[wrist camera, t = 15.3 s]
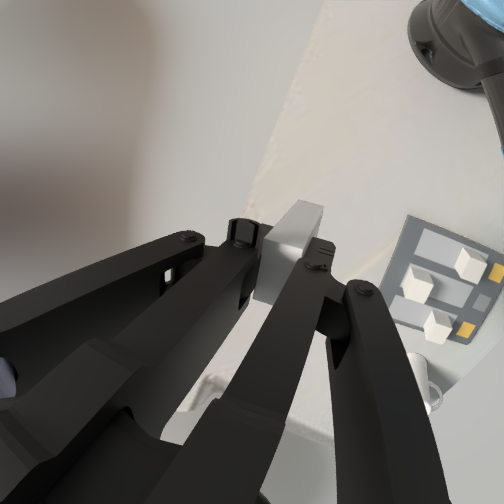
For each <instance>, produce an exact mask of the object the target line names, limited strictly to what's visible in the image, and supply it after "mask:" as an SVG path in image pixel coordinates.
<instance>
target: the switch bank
mask: <svg viewBox="0 0 504 504" xmlns="http://www.w3.org/2000/svg"><path fill="white" fill-rule="evenodd" d="M463 247H464V248H466V249H469V250H471V251H474V252H476V253H478V254H480V256H481V257H482V258H483V259H484V261H485V262H486V263H487V266H486V268H485V270H484V273H483V275H482V277H481V279H480V281H479V283H478V285H477V284H475V283H472V282H470V281H467V280H465V279H462V278H460V276H459V274H458V272H457V271H456V269H455V267H454V266H455V263H456V261H457V259H458V257H459V255H460V252H461V250H462V248H463ZM410 267H414V268H417V269H420V270H422V271H425V272H428V273H429V274H430V276H431V279H432V281H433V284H434V286H433V288H432V290H431V292H430V294H429V296H428V298H427V300H426V302H425V303H424V304H422V303H419V302H416V301H413V300H410V299H407V298H405V296H404V291H403V286H402V285H403V283H404V280H405V278H406V276H407V274H408V271H409V269H410ZM503 284H504V255H503V254H500V253H498V252H496V251H494V250H492V249H490V248H488V247H485V246H483V245H481V244H479V243H476V242H474V241H472V240H470V239H467V238H465V237H463V236H460V235H458V234H456V233H453V232H451V231H448V230H446V229H444V228H441V227H439V226H436V225H434V224H431V223H428V222H426V221H423V220H421V219H418V218H416V217H413V216H410V215H407V218H406V221H405V224H404V226H403V229H402V232H401V234H400V237H399V240H398V242H397V245H396V248H395V250H394V253H393V255H392V258H391V260H390V262H389V265H388V267H387V270H386V272H385V274H384V277H383V279H382V281H381V284H380V286H379V288H378V289H379V290H380V292H381V293H382V296H383V298H384V300H385V302H386V305H387V307H388V309H389V312H390V314H391V316H392V319H393V321H394V323H398V324H401V325H404V326H407V327H410V328H413V329H416V330H420V331H423V332H424V328H423V325H424V323H425V322H426V320H427V318H428V316H429V315H430V313H431V311H432V310H434V311H437V312H440V313H443V314H446V315H448V317H449V319H450V322H451V325H452V328H453V329H452V331H451V332H450V334H449V335H448V337H447V338H446V339H449V340H452V341H455V342H458V343H462V344H465V345H468V344H469V342H470V341H471V339H472V338H473V336H474V334H475V333H476V331H477V330H478V328H479V327H480V325H481V323H482V322H483V320H484V318H485V317H486V315H487V313H488V312H489V310H490V308H491V307H492V305H493V303H494V301H495V299H496V298H497V296H498V294H499V292H500V290H501V288H502V286H503Z"/></svg>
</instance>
